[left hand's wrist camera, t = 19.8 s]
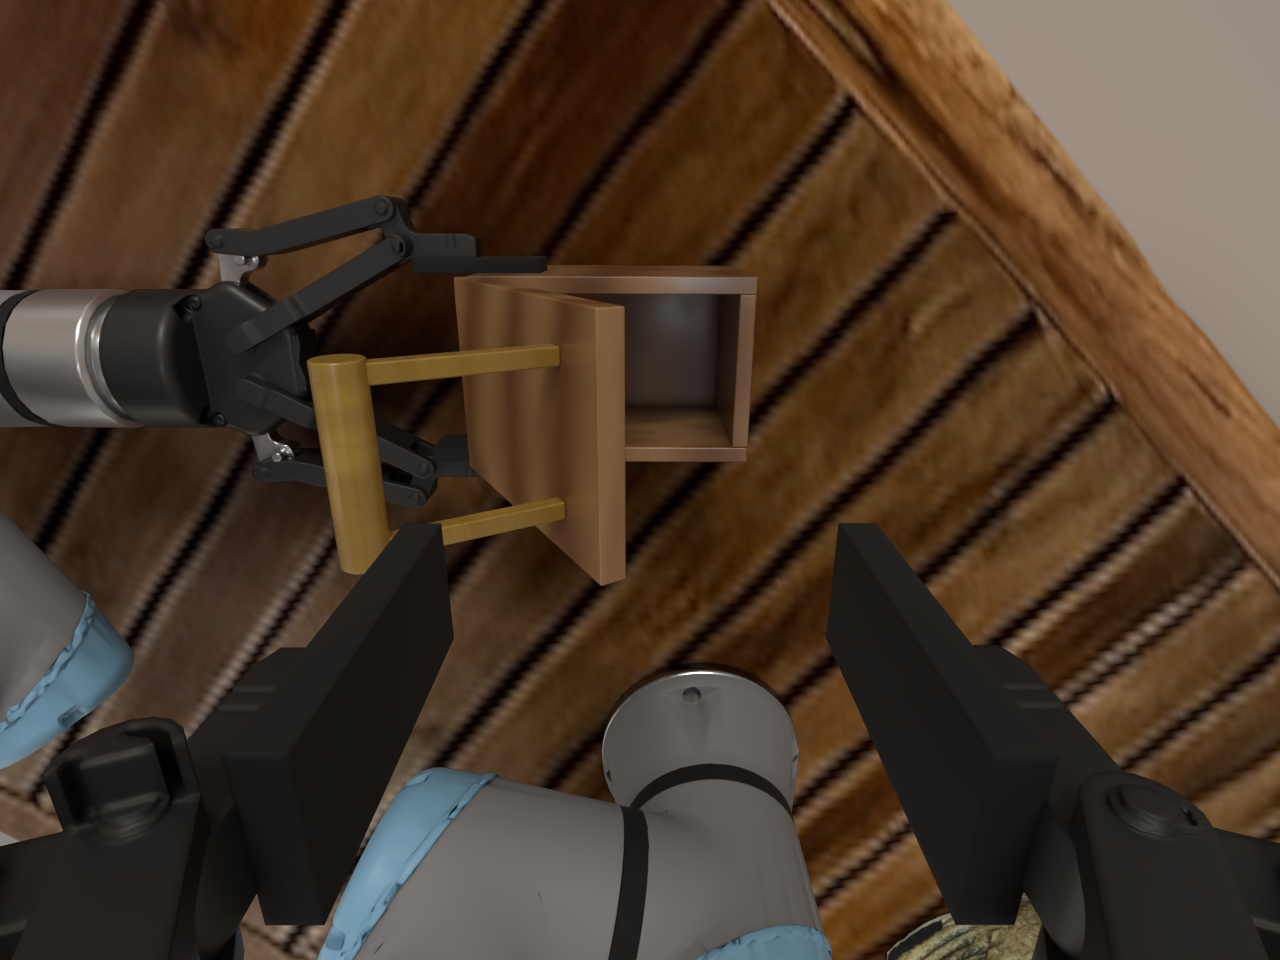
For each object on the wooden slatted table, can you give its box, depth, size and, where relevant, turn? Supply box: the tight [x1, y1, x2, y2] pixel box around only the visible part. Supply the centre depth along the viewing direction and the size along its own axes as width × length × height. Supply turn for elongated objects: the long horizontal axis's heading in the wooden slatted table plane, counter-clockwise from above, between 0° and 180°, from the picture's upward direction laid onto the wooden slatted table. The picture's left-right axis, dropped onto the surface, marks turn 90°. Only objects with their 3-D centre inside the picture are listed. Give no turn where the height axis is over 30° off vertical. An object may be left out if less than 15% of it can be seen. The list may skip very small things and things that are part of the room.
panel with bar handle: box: [307, 277, 626, 586], centre depth 27 cm, size 15×9×9 cm
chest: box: [467, 265, 758, 462], centre depth 40 cm, size 14×9×10 cm
